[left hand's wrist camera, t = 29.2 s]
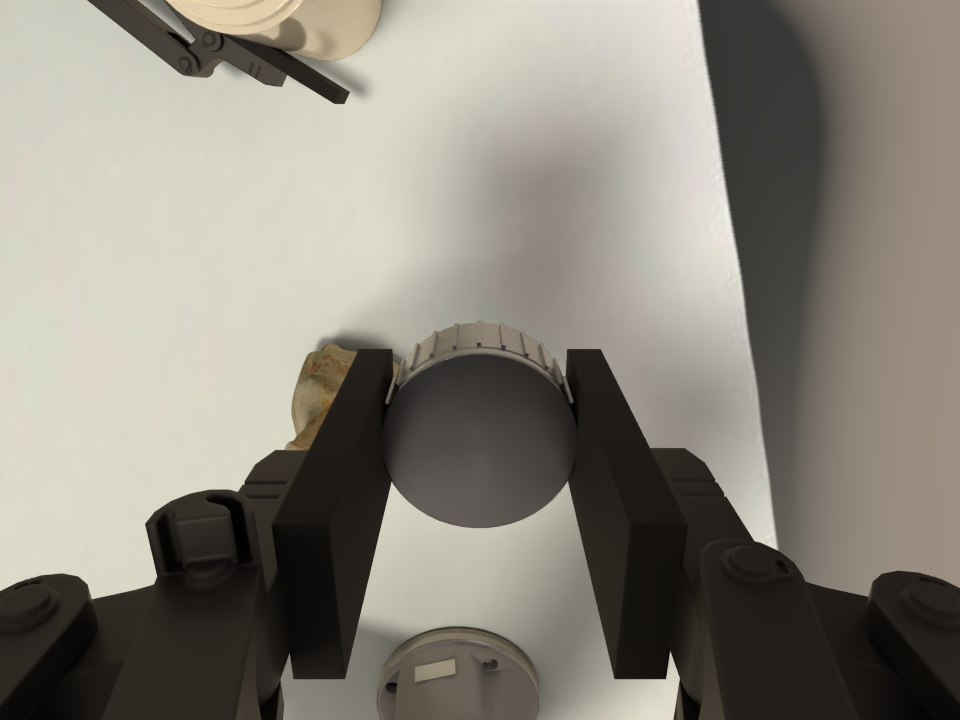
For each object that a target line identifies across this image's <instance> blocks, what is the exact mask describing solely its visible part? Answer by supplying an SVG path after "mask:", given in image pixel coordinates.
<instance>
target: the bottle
mask: <svg viewBox="0 0 960 720" xmlns="http://www.w3.org/2000/svg"><path fill="white" fill-rule="evenodd" d="M166 1H167V2H168V3H169V4H170V5H171V6H172V7H173V8H174V9H176V10H177V11H178V12H180V13H181V14H182V15H183V16H185V17H186V18H188V19H190V20H191V21H193V22H195V23H196V24H198V25H200V26H203V27H205V28H207V29H210V30H213V31H217V32H220V33H224V34H227V35H231V36H234V37H238V38H242V39H245V40H249V41H252V42H256V43H259V44H263V45H267V46H270V47H274V48H277V49H281V50H284V51H288V52H291V53H295V54H299V55H302V56H306V57H309V58H313V59H317V60H337V59H341V58H344V57H347V56H349V55H351V54H353V53H354V52H356V51H357V50H359V49H360V48H361V47H362V46H363V45H364V44H365V43H366V42H367V41H368V40H369V38H370V37H371V35H372V34H373V32H374V30H375V28H376V26H377V23H378V20H379V17H380V12H381V6H382V0H166Z"/></svg>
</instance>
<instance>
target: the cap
mask: <svg viewBox="0 0 960 720" xmlns="http://www.w3.org/2000/svg"><path fill="white" fill-rule="evenodd" d="M574 405H575V404H574V401H573V398H572V395H571V391H570V388H569V385H568V382H567V379H566V376H564V377H563V376H562V374H561V371H560V368H559V365H558V361H557V359H556V358H554V359H553V358H552V357H551V356H550V354H549V353H548V352H547V351H546V350H545V349H544V346H543V344H542V343H541V342H540V343H537V342H536V341H534V340H533V339H532V338H530V337H529V336H527V335H525V332H524V331H521V332H519V331H517V330H514V329H511V328H509V327H505V326H504V324H502V323H500V325H497V324H488V323H481V321H477V323H470V324H463V325H458V323H457V324H454V327H450V328H447V329H445V330H442V331H440V332H437V331H435V332H433V335H432V336H431V337H429V338H427V339H426V340H425V341H423V342H422V343H421V344H419V343H417V344H416V345H415V348H414V350H413V351H412V352H411V353H410V354H409V356H408V357H407V358H406V360H405V359H402V361H401V364H400V367H399V370H398V374H397V376H396V377H393V379H392V382H391V385H390V388H389V391H388V395H387V398H386V401H385V404H384V406H385V407H386V410H385V414H384V417H383V421H382V440H383V455H384V466H385V468H386V471H387V473H388V475H389V477H390V479H391V481H392V482H393V484H394V486H395V487H396V488H397V490H398V491H399V492H400V493H401V495H402V496H403V497H404V498H405V499H406V500H407V501H408V502H409V503H411V504H412V505H413V506H415V507H416V508H417V509H418V510H420V511H422V512H423V513H425V514H427V515H428V516H430V517H433V518H435V519H437V520H439V521H442V522H445V523H448V524H451V525H456V526H461V527H470V528H490V527H498V526H503V525H507V524H511V523H514V522H517V521H520V520H522V519H524V518H526V517H528V516H530V515H532V514H534V513H536V512H537V511H539V510H540V509H542V508H543V507H545V506H546V505H547V504H548V503H549V502H551V501H552V500H553V499H554V498H555V497H556V495H557V494H558V493H559V492H560V491H561V490H562V488H563V487H564V485H565V484H566V483H567V481H568V479H569V477H570V475H571V473H572V471H573V468H574V466H575V462H576V449H577V432H578V425H577V421H576V417H575V414H574V411H573V407H572V406H574Z"/></svg>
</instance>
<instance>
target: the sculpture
mask: <svg viewBox="0 0 960 720" xmlns="http://www.w3.org/2000/svg"><path fill="white" fill-rule="evenodd" d="M356 354H357V351H349V350H344V349H341V348H340V346H338V345H335V344H327V345H325V346H324V347H323V348H322V349H321V351H318V352H311V353H309V354H308V355H307V357H306V360H305V362H304V364H303V366H302V369H301V372H300V375H299V378H298V381H297V384H296V387H295V391H294V395H293V401H292V418H293V423H294V427H295V432H296V435H297V437H296V438H295V439H294V441H291V442H289V443H288V444H287V445H286V447H285V450H309V448H310V446H311V444H312V442H313V440H314V438H315V436H316V434H317V432H318V430H319V428H320V426H321V424H322V422H323V420H324V418H325V416H326V414H327V412H328V410H329V408H330V406H331V404H332V402H333V400H334V398H335V396H336V394H337V392H338V390H339V388H340V386H341V384H342V382H343V380H344V378H345V376H346V374H347V372H348V370H349V368H350V366H351V364H352V362H353V360H354V358H355V356H356ZM399 367H400V366H399V365H398V364H397V363H396V362H394V361H393V371H394V377H396V376H397V374H398V370H399Z"/></svg>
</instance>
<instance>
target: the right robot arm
mask: <svg viewBox="0 0 960 720" xmlns="http://www.w3.org/2000/svg"><path fill="white" fill-rule="evenodd" d="M88 1H89V2H90V3H91V4H93V5H94V6H95V7H97V8H98V9H99V10H100V11H102V12H103V13H104V14H105V15H107V16H108V17H109V18H110V19H112V20H113V21H114V22H116V23H117V24H118V25H119V26H121V27H122V28H123V29H124V30H126V31H127V32H128V33H130V34H131V35H132V36H133V37H135V38H136V39H137V40H138V41H140V42H141V43H142V44H144V45H145V46H146V47H147V48H149V49H150V50H151V51H152V52H154V53H155V54H156V55H158V56H159V57H160V58H161V59H163V60H164V61H165V62H166V63H168V64H169V65H170V66H171V67H173V68H174V69H175V70H177V71H178V72H179V73H181V74H182V75H184V76H192V77H204V78H207V77H210V76H211V75H212V74H213V71H214V68H215V67H216V66H217V65H218V64H219V63H220V62H222V61H227V62H229V63H230V64H232V65H234V66H235V67H237V68H238V69H240V70H242V71H243V72H245V73H247V74H249V75H250V76H252V77H253V78H255V79H257V80H258V81H260V82H262V83H263V84H265V85H271V86H279V87H282V85H283V83H284V81H285V79H286V76H287V75H288V76H290V77H292V78H293V79H295V80H297V81H298V82H300V83H301V84H303V85H305V86H306V87H308V88H310V89H311V90H313V91H315V92H316V93H318V94H319V95H321V96H323V97H324V98H326V99H328V100H329V101H331V102H332V103H334V104H345V101H346V99H347V97H348V95H349V93H350V92H349V91H347V90H346V89H344V88H343V87H341V86H339V85H338V84H336V83H335V82H333V81H331V80H330V79H328V78H327V77H325V76H323V75H322V74H320V73H318V72H317V71H315V70H314V69H312V68H310V67H309V66H307V65H306V64H304V63H302V62H301V61H299V60H298V59H296V58H294V57H293V56H291V55H289V54H288V53H286V52H285V51H283V50H281V49H277V48H274V47H270V46H267V45H263V44H259V43H256V42H252V41H249V40H245V39H242V38H238V37H234V36H231V35H227V34H224V33H220V32H217V31H213V30H210V29H207V28H205V27H203V26H200V25H198V24H196V23H195V22H193V21H191V20H190V19H188V18H186V17H185V16H183V15H182V14H181V13H180V12H178V11H177V10H176V9H174V8H173V7H172V6H171V5H170V4H169V3H168V2H167V1H166V0H164V1H165V2H166V4H167V5H168V6H169V7H170V9H171V10H172V11H173V12H174V13H175V15H176V16H177V17H178V18H179V20H180V21H181V22H182V23H183V24H184V26H185V27H186V28H187V29H188V30H189V32H190V33H191V34H192V35H193V37H194V38H195V39H196V40H195V41H194V42H193V43H192V44H191V43H190V42H189V41H188V40H186V39H185V38H184V37H183V36H181V35H180V34H179V33H178V32H177V31H175V30H174V29H173V28H172V27H170V26H169V25H168V24H167V23H165V22H164V21H163V20H162V19H160V18H159V17H158V16H157V15H155V14H154V13H153V12H152V11H150V10H149V9H148V8H147V7H145V6H144V5H143V4H142V3H140V2H139V1H138V0H88Z"/></svg>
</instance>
